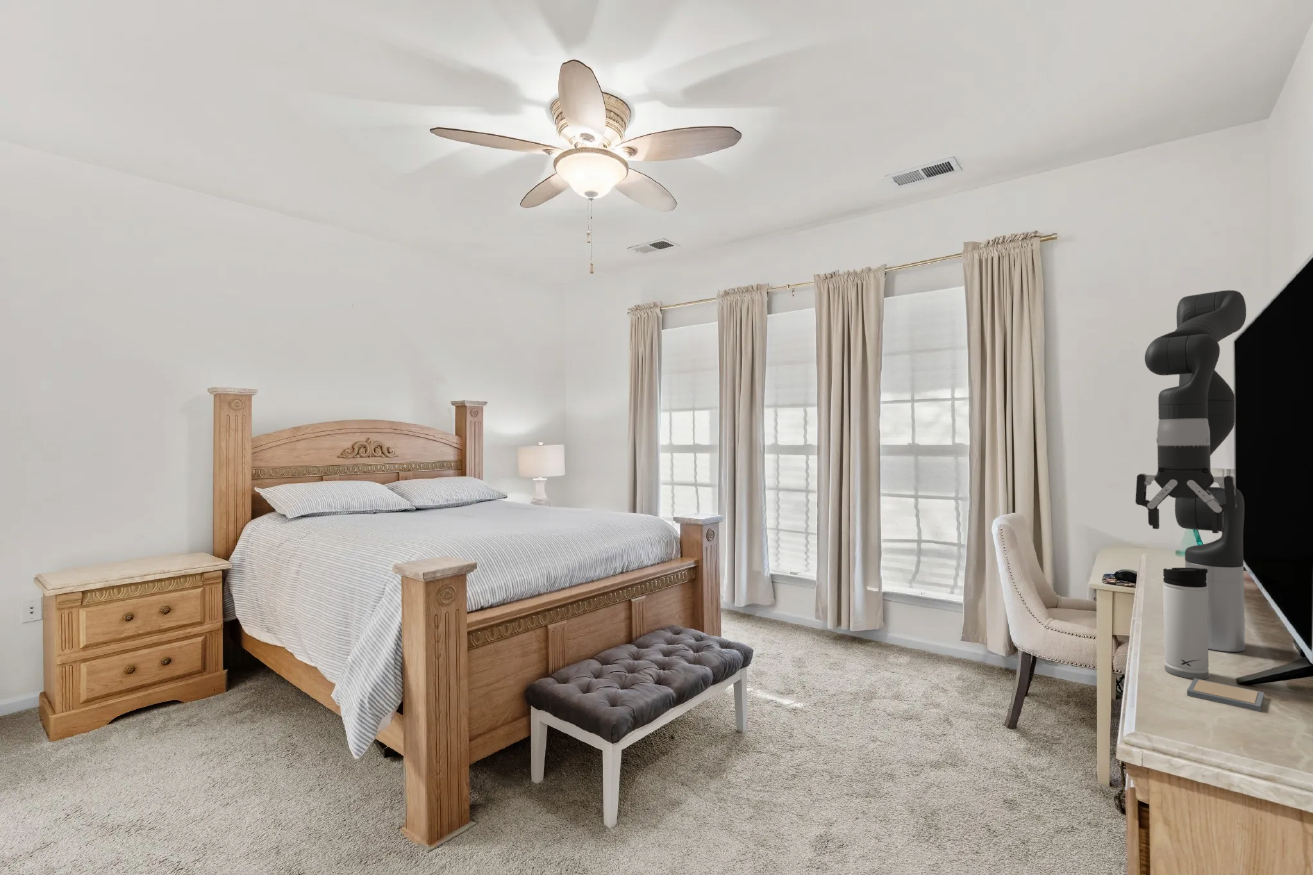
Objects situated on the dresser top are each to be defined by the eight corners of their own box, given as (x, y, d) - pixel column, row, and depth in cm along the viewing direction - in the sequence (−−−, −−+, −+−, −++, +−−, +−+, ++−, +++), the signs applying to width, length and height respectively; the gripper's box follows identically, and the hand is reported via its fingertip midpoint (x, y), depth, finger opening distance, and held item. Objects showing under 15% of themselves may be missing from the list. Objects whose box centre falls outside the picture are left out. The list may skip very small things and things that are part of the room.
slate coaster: (1194, 682, 112) (1194, 677, 112) (1264, 697, 106) (1263, 691, 106) (1187, 695, 107) (1186, 689, 107) (1260, 711, 100) (1260, 705, 100)
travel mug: (1194, 682, 112) (1192, 570, 112) (1156, 669, 119) (1154, 563, 119) (1219, 678, 114) (1217, 568, 114) (1180, 665, 120) (1178, 561, 120)
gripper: (1237, 443, 114) (1239, 532, 114) (1139, 443, 124) (1141, 525, 124) (1232, 443, 109) (1234, 537, 109) (1131, 444, 119) (1133, 529, 119)
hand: (1184, 530), depth 117 cm, fingers open, 8 cm apart
